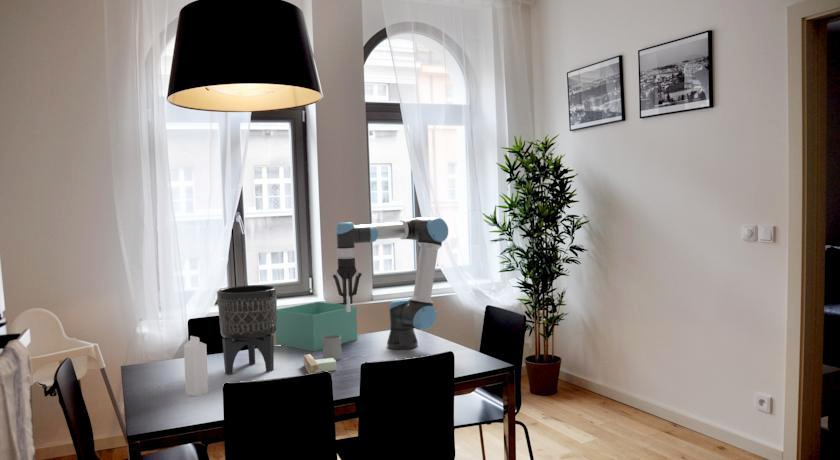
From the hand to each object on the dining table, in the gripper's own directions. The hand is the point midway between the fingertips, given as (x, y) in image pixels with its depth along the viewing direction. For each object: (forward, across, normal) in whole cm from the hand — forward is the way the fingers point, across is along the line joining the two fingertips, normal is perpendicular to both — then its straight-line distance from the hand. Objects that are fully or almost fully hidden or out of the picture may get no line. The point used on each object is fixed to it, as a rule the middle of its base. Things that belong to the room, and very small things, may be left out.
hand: (348, 311), depth 268 cm
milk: (+24, +63, +12) cm, 69 cm away
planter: (+24, +41, -15) cm, 50 cm away
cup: (+25, +4, -18) cm, 31 cm away
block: (+25, +11, 0) cm, 27 cm away
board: (+24, +17, 0) cm, 30 cm away
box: (+25, +4, -56) cm, 61 cm away
